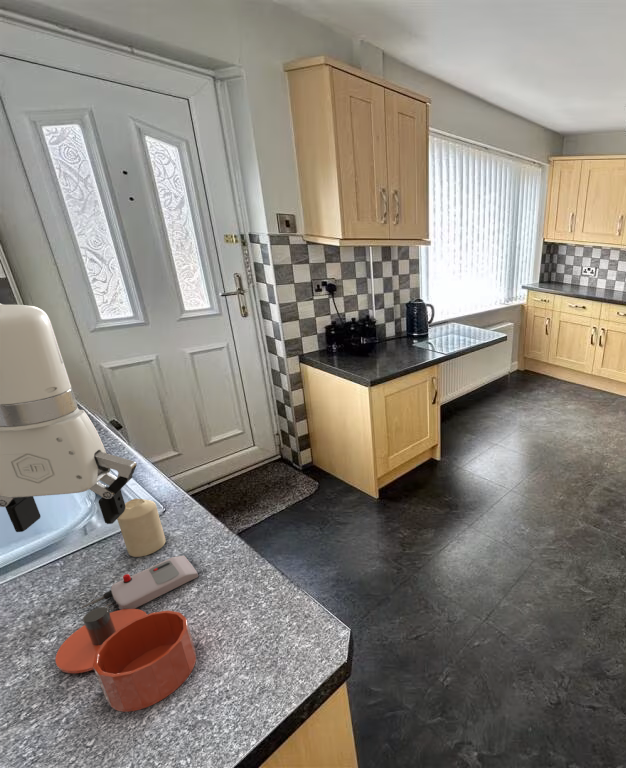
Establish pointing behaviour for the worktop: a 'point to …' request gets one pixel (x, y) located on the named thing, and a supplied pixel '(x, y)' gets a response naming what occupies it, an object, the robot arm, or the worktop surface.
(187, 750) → the worktop surface
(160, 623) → the pot
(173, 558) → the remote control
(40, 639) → the worktop surface
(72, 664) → the lid
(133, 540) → the candle
